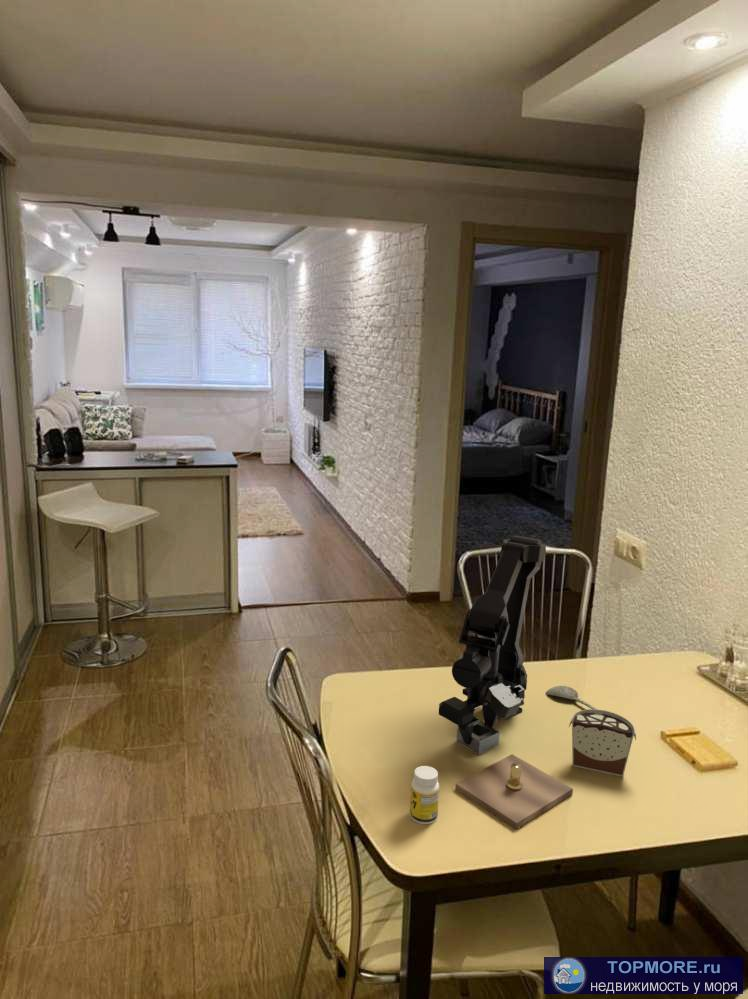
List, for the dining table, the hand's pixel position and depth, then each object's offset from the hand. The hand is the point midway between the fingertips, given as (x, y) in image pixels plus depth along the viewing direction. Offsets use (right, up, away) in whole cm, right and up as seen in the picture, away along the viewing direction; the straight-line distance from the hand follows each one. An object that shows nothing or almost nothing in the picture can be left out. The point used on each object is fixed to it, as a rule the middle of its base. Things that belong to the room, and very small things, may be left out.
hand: (477, 738), depth 147 cm
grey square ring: (0, -1, 0) cm, 1 cm away
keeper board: (+4, -5, -15) cm, 17 cm away
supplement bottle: (-13, -6, -23) cm, 27 cm away
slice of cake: (+23, -3, -5) cm, 24 cm away
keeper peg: (+4, -3, -16) cm, 17 cm away
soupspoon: (+26, +1, +16) cm, 31 cm away
